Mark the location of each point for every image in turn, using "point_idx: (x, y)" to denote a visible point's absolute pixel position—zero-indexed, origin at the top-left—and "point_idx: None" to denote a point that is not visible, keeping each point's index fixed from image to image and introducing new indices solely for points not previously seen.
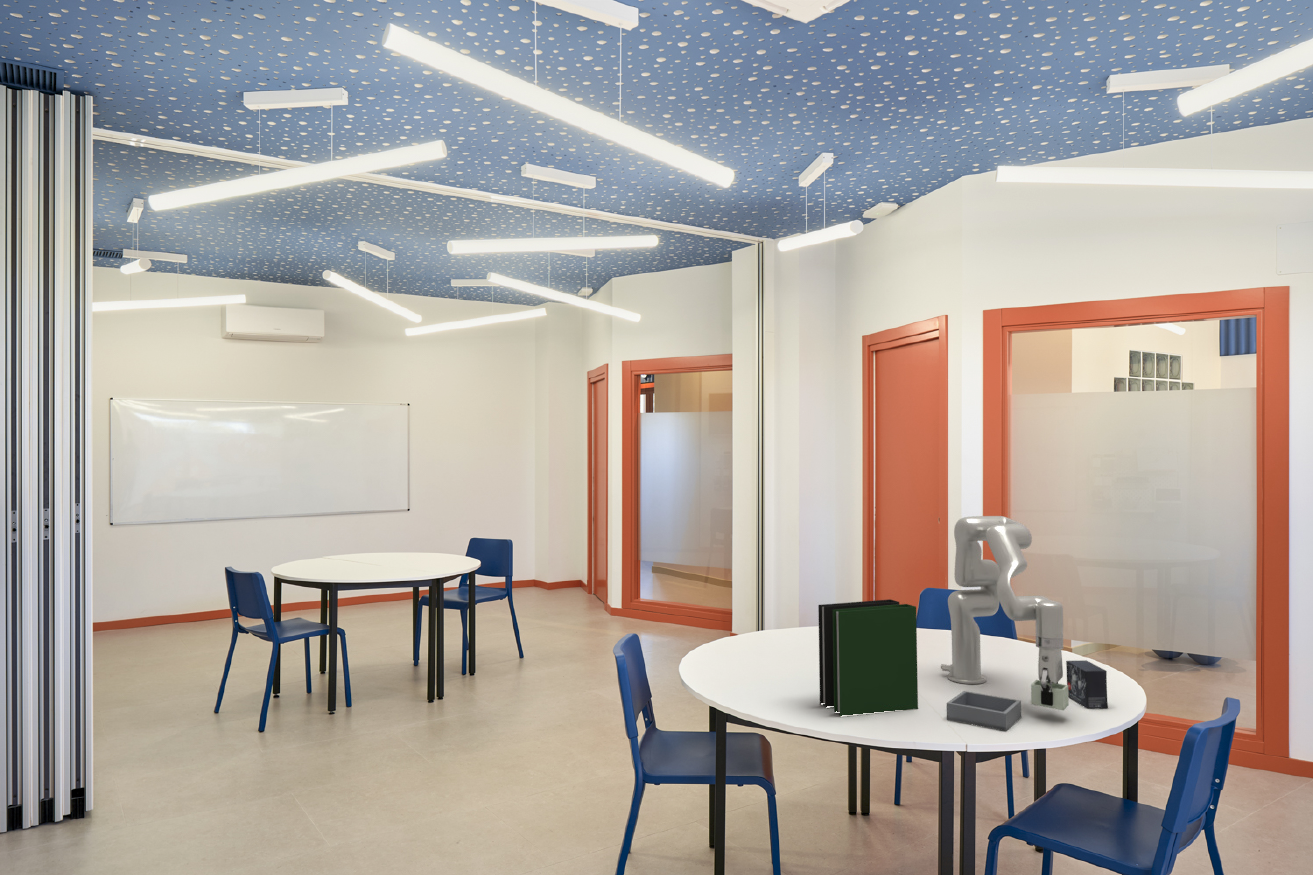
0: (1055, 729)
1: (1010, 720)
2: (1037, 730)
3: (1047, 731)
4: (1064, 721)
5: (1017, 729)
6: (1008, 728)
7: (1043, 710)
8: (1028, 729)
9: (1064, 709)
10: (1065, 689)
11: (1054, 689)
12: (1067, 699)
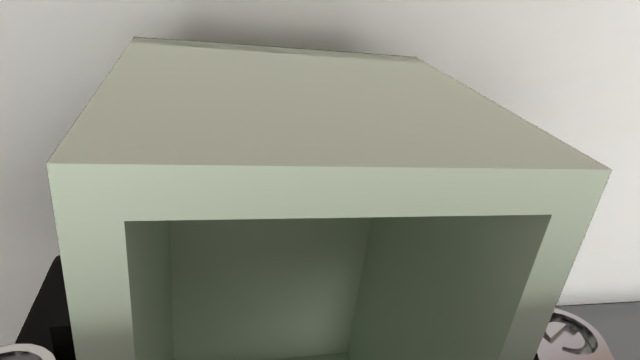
0: (566, 67)
1: (625, 335)
2: (620, 171)
3: (629, 110)
4: (298, 32)
5: (626, 267)
6: (635, 304)
7: (51, 250)
8: (612, 220)
9: (381, 54)
10: (425, 153)
11: (536, 316)
12: (194, 64)
